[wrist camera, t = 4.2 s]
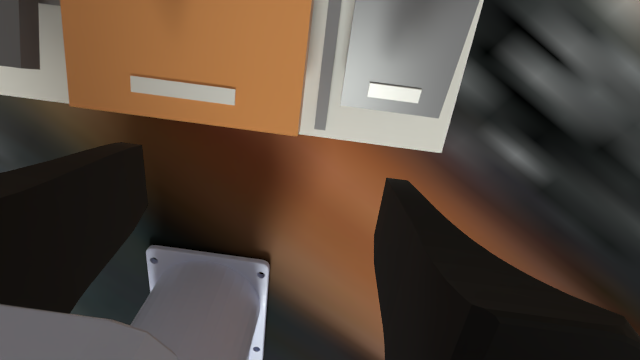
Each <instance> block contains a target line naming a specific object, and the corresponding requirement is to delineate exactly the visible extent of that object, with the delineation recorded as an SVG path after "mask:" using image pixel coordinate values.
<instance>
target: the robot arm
mask: <svg viewBox="0 0 640 360" xmlns="http://www.w3.org/2000/svg"><path fill="white" fill-rule="evenodd" d="M147 206H148V200H147V190H146V180H145V170H144V160H143V150H142V145H137V144H130V143H122V142H121V143H113V144H108V145H104V146H100V147H96V148H93V149H89V150H85V151H82V152H78V153H75V154H71V155H68V156H64V157H61V158H57V159H54V160H50V161H47V162H43V163H39V164H35V165H31V166H27V167H23V168H20V169H16V170H12V171H7V172H3V173H0V360H263V356H264V342H265V327H266V313H267V299H268V285H269V271H270V265H269V263H268V262H267V261H265V260H261V259H254V258H246V257H239V256H232V255H224V254H217V253H210V252H202V251H195V250H188V249H180V248H173V247H166V246H158V245H151V246H150V247H149V248H148V249H147V251H146V258H147V267H148V276H149V285H150V294H149V296H148V297H147V299H146V301H145V302H144V304H143V305H142V307H141V309H140V310H139V312H138V314H137V315H136V317H135V318H134V320H133V322H132V323H131V325H127V324H124V323H120V322H117V321H114V320H111V319H104V318H96V317H89V316H82V315H75V314H70V312H71V311H72V309H73V308H74V306H75V305H76V303H77V301H78V300H79V299H80V297H81V296H82V295H83V293H84V292H85V291H86V289H87V288H88V287H89V285H90V284H91V283H92V282H93V280H94V279H95V278H96V277H97V275H98V274H99V273H100V272H101V271H102V269H103V268H104V267H105V266H106V264H107V263H108V262H109V261H110V259H111V258H112V257H113V256H114V255H115V253H116V252H117V251H118V250H119V248H120V247H121V246H122V245H123V243H124V242H125V241H126V240H127V238H128V237H129V236H130V234H131V233H132V232H133V230H134V229H135V227H136V225H137V224H138V222H139V220H140V219H141V217H142V215H143V213H144V211H145V209H146V208H147ZM153 257H154V258H156V259H157V260H155V259H154V258H153ZM374 266H375V274H376V281H377V289H378V296H379V303H380V310H381V317H382V324H383V332H384V344H385V360H640V337H639V336H638V334H637V333H636V332H635V330H634V329H633V328H632V327H631V325H630V324H629V323H628V321H627V320H626V319H625V317H623V316H621V315H619V314H616V313H614V312H611V311H609V310H606V309H604V308H601V307H598V306H596V305H593V304H591V303H588V302H586V301H583V300H581V299H578V298H576V297H573V296H571V295H569V294H566V293H564V292H562V291H560V290H558V289H556V288H554V287H552V286H549V285H547V284H545V283H543V282H541V281H539V280H537V279H535V278H533V277H531V276H529V275H527V274H526V273H524V272H522V271H520V270H519V269H517V268H515V267H513V266H512V265H510V264H508V263H506V262H505V261H503V260H501V259H500V258H498V257H497V256H495V255H493V254H492V253H490V252H489V251H487V250H486V249H485V248H483V247H482V246H480V245H479V244H478V243H476V242H475V241H473V240H472V239H471V238H469V237H468V236H467V235H465V234H464V233H463V232H462V231H461V230H459V229H458V228H457V227H456V226H455V225H453V224H452V223H451V222H450V221H449V220H448V219H447V218H445V217H444V216H443V215H442V214H441V213H440V212H439V211H438V210H437V209H436V208H435V207H434V206H433V205H432V204H431V203H430V202H429V201H428V200H427V199H426V198H425V197H424V196H423V195H422V194H421V193H420V192H419V191H418V190H417V189H416V188H415V187H414V186H413V185H412V184H411V183H410V182H409V181H407V180H399V179H392V178H386V182H385V187H384V192H383V196H382V201H381V206H380V210H379V215H378V220H377V224H376V229H375V234H374ZM259 272H262V273H264V274H260V273H259Z"/></svg>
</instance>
